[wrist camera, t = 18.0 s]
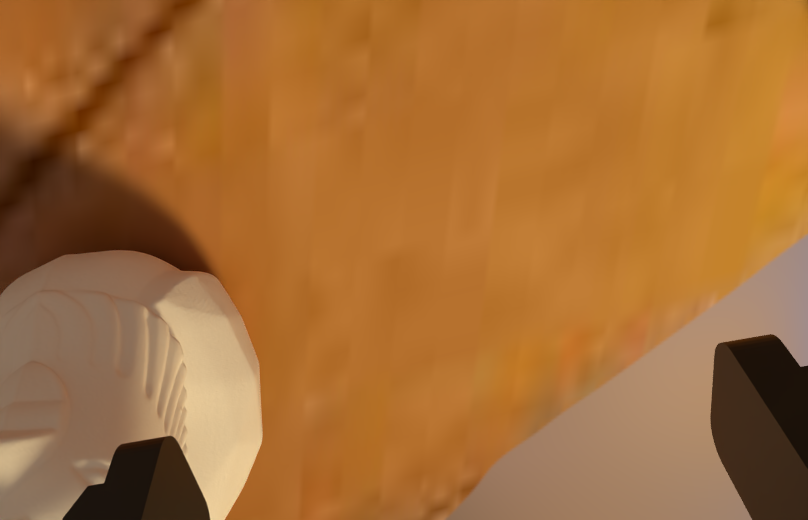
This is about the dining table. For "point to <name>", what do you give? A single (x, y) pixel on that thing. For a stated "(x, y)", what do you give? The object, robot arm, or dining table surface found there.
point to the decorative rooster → (121, 379)
